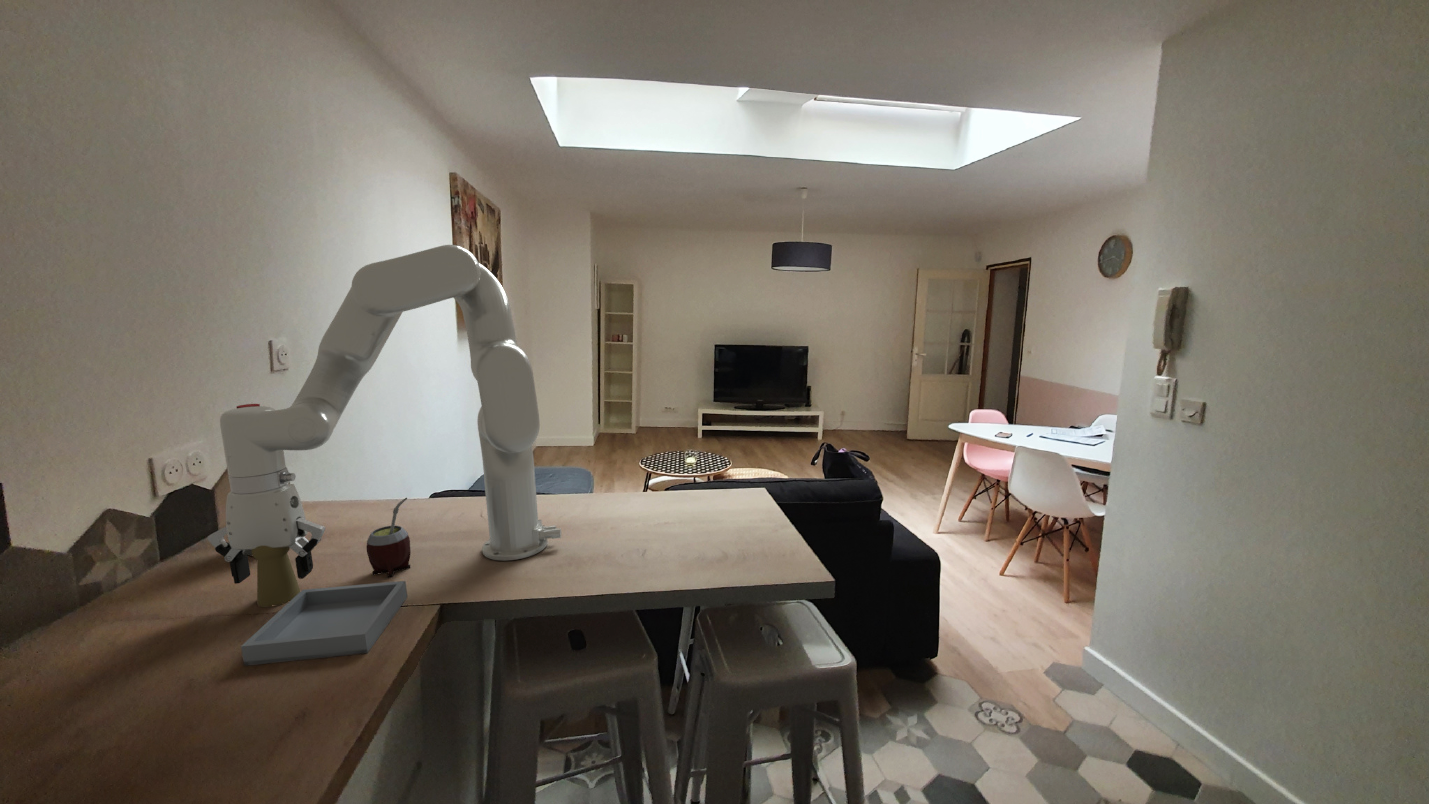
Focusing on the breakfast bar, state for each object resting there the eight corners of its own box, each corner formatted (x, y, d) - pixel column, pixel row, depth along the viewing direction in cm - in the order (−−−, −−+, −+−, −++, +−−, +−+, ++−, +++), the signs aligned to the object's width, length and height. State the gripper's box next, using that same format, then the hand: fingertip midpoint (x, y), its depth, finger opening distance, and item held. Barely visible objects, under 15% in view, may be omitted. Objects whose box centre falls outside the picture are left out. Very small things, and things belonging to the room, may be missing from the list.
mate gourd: (373, 566, 110) (363, 491, 108) (419, 558, 113) (410, 485, 111) (367, 583, 103) (356, 504, 101) (416, 575, 106) (407, 497, 104)
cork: (277, 608, 96) (267, 546, 94) (247, 605, 97) (236, 544, 95) (309, 590, 101) (300, 531, 99) (281, 587, 103) (271, 529, 101)
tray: (407, 597, 99) (405, 580, 98) (367, 653, 83) (364, 634, 83) (305, 606, 96) (302, 589, 96) (244, 665, 81) (240, 646, 80)
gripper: (327, 472, 100) (339, 563, 103) (216, 477, 98) (232, 571, 101) (304, 485, 93) (318, 583, 96) (183, 492, 90) (201, 592, 93)
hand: (274, 577), depth 98 cm, fingers open, 9 cm apart
